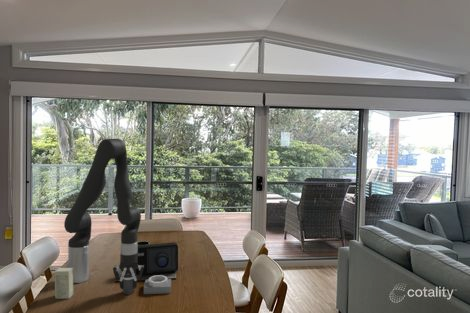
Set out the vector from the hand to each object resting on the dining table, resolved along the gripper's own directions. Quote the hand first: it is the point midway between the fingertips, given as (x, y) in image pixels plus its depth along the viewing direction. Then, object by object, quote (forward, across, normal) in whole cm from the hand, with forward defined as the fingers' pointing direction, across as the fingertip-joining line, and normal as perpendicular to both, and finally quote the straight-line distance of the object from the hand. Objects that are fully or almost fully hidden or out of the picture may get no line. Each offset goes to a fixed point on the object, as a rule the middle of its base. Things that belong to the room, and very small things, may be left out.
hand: (128, 288), depth 158 cm
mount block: (+2, +13, +2) cm, 13 cm away
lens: (+2, 0, 0) cm, 2 cm away
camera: (+2, +11, +21) cm, 24 cm away
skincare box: (+2, -27, -2) cm, 27 cm away
